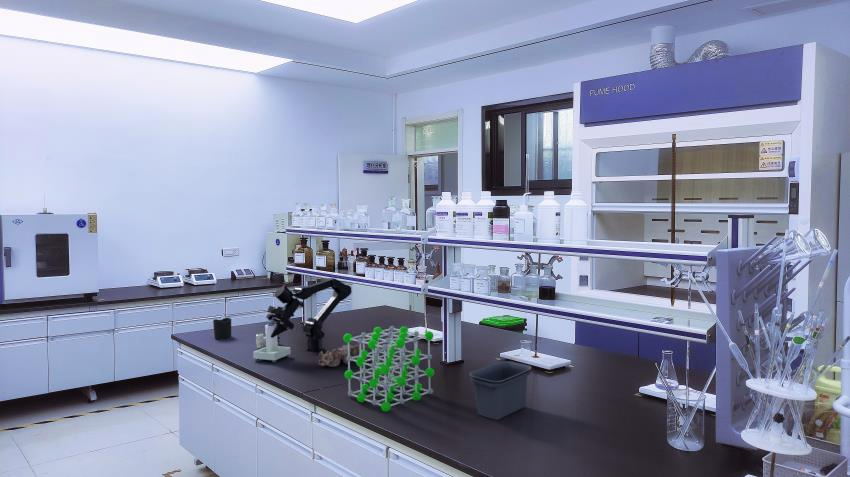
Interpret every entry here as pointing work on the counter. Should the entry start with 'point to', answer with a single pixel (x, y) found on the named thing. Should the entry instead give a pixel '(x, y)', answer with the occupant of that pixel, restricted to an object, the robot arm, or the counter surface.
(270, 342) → the bottle
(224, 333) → the pen holder
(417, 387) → the molecular structure model
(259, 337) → the valve
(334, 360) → the mineral formation
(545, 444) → the counter surface
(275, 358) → the shallow mint tray
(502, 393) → the storage bin
